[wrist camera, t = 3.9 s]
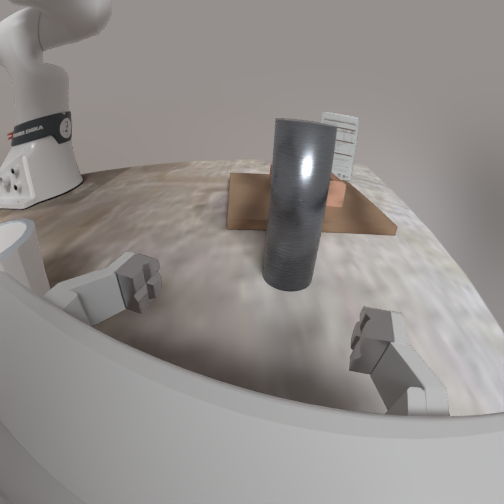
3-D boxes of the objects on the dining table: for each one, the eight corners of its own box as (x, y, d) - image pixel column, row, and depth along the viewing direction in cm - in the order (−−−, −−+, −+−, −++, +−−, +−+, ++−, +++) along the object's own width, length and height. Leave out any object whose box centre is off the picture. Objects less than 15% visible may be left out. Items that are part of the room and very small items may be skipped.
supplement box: (319, 167, 57) (325, 111, 51) (352, 174, 55) (360, 118, 48) (313, 173, 51) (320, 111, 45) (350, 181, 49) (359, 118, 43)
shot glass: (14, 294, 17) (-13, 222, 13) (74, 291, 18) (49, 211, 15) (-14, 352, 11) (-59, 273, 7) (52, 359, 13) (3, 267, 9)
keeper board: (227, 229, 29) (228, 191, 26) (230, 179, 44) (230, 155, 42) (394, 235, 30) (403, 203, 28) (345, 186, 45) (348, 164, 43)
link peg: (265, 291, 20) (280, 121, 14) (260, 261, 24) (272, 117, 17) (316, 290, 21) (346, 129, 14) (305, 262, 24) (326, 123, 18)
